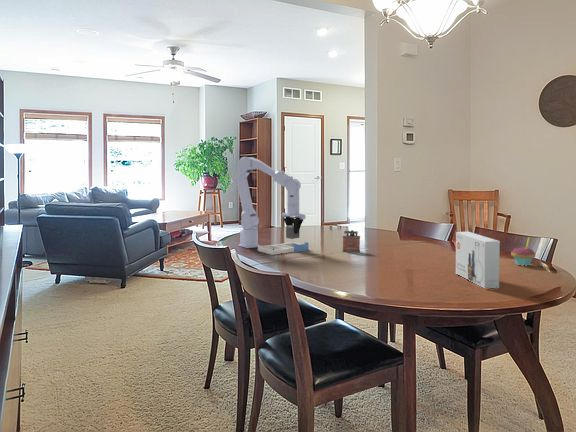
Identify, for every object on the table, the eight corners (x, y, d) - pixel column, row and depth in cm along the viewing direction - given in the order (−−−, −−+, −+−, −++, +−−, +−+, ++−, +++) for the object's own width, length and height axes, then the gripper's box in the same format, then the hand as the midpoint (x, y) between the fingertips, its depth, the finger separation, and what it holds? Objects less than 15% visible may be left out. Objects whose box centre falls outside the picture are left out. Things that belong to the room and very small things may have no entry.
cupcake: (532, 263, 182) (534, 234, 181) (536, 268, 174) (538, 237, 173) (509, 262, 185) (510, 233, 184) (512, 266, 177) (513, 236, 176)
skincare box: (453, 274, 164) (455, 231, 163) (468, 274, 165) (469, 231, 163) (483, 290, 144) (485, 240, 142) (499, 289, 144) (502, 240, 142)
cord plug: (286, 238, 216) (286, 225, 215) (293, 236, 219) (293, 224, 218) (291, 238, 213) (291, 226, 212) (299, 237, 216) (299, 225, 215)
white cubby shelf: (257, 250, 212) (257, 243, 211) (293, 246, 224) (293, 239, 224) (273, 255, 202) (273, 247, 201) (309, 249, 214) (309, 242, 214)
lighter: (359, 251, 210) (360, 230, 209) (360, 252, 207) (360, 231, 206) (342, 251, 211) (342, 229, 210) (342, 252, 208) (342, 230, 207)
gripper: (276, 204, 217) (277, 232, 218) (297, 206, 206) (297, 235, 208) (287, 203, 222) (287, 230, 223) (308, 205, 211) (308, 233, 212)
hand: (293, 233), depth 216 cm, fingers closed on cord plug, 4 cm apart
